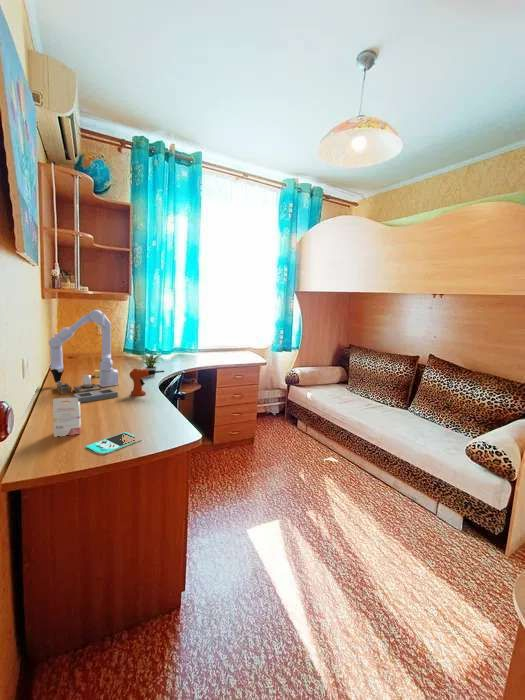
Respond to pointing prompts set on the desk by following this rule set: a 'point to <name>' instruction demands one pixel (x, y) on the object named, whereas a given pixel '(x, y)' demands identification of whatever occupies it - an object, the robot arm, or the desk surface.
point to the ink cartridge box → (66, 417)
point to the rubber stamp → (97, 371)
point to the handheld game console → (109, 443)
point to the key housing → (64, 389)
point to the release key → (61, 383)
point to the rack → (96, 395)
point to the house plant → (150, 363)
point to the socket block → (80, 389)
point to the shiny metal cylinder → (87, 381)
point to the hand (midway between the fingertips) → (57, 382)
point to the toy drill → (140, 380)
